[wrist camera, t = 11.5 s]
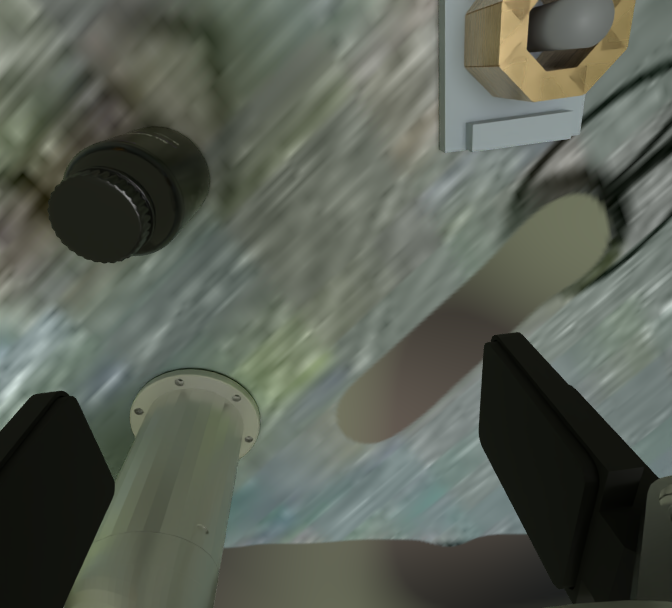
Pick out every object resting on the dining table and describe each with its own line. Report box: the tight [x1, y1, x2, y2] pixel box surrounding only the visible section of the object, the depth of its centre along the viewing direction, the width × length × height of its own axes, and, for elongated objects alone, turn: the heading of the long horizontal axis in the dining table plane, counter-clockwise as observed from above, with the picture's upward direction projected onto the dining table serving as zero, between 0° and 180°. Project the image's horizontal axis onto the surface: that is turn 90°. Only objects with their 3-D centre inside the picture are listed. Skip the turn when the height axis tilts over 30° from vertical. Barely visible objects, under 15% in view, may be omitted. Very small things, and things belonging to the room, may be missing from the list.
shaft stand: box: [439, 0, 615, 153], centre depth 26 cm, size 14×10×10 cm
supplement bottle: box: [48, 127, 209, 263], centre depth 28 cm, size 7×7×12 cm
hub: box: [464, 0, 636, 102], centre depth 26 cm, size 7×7×6 cm
